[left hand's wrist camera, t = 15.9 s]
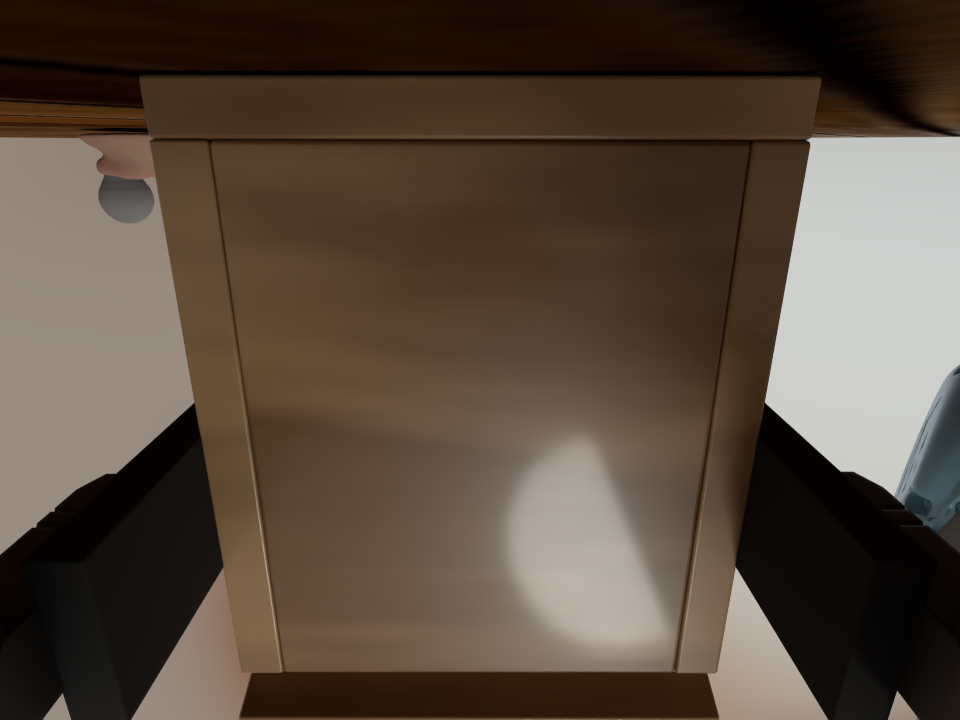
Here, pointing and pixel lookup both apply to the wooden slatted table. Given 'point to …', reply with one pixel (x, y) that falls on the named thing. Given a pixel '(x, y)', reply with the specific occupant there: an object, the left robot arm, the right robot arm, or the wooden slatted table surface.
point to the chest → (479, 355)
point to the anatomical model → (123, 154)
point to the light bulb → (126, 198)
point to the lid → (478, 696)
